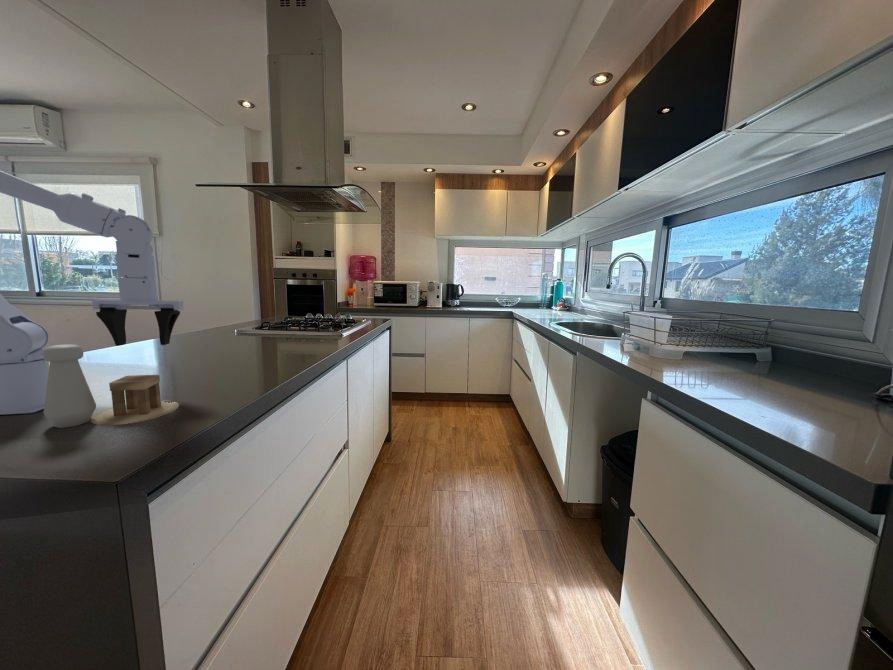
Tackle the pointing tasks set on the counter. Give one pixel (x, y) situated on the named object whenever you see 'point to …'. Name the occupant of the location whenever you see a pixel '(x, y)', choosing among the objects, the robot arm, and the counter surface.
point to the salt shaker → (67, 388)
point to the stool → (135, 394)
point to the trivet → (132, 415)
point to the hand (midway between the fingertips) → (143, 344)
